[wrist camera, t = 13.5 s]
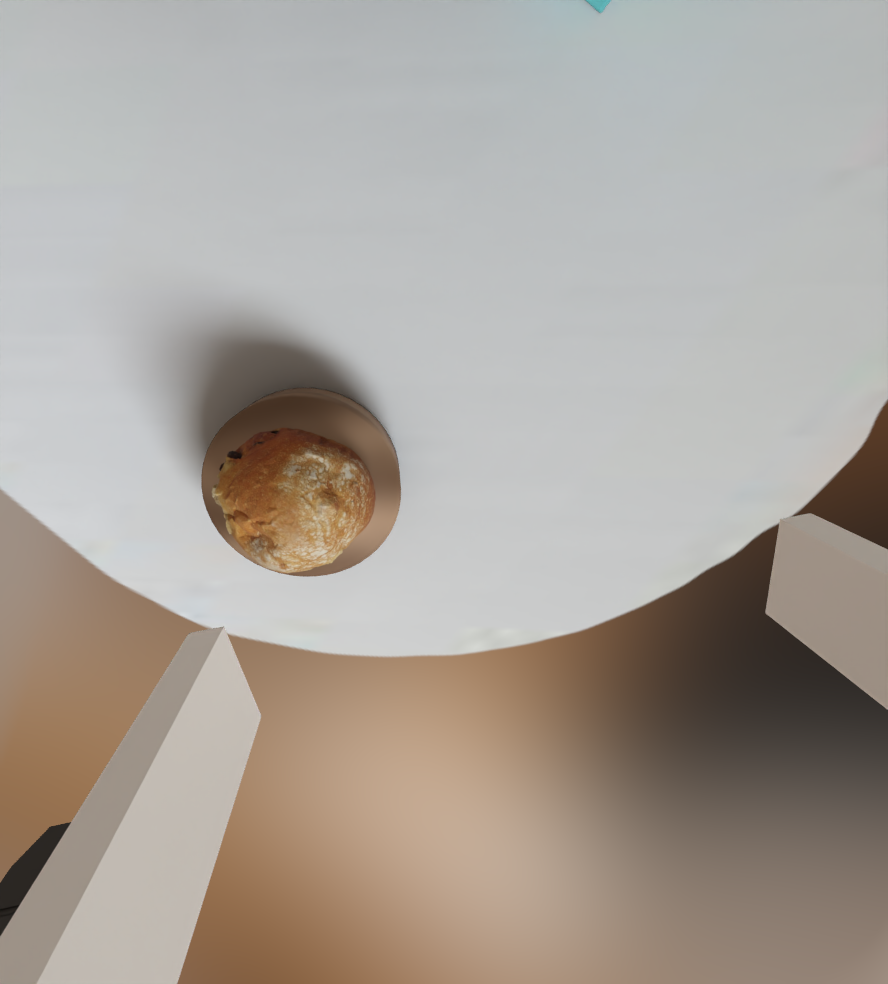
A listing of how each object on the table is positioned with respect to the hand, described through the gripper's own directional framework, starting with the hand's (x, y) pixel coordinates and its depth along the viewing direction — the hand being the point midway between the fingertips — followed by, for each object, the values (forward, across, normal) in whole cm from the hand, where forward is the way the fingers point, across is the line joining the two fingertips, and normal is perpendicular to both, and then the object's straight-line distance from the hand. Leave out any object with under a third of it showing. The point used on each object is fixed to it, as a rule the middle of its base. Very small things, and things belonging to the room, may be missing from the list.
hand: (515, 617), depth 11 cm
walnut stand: (+27, -10, -4) cm, 29 cm away
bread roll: (+23, -10, -4) cm, 25 cm away
